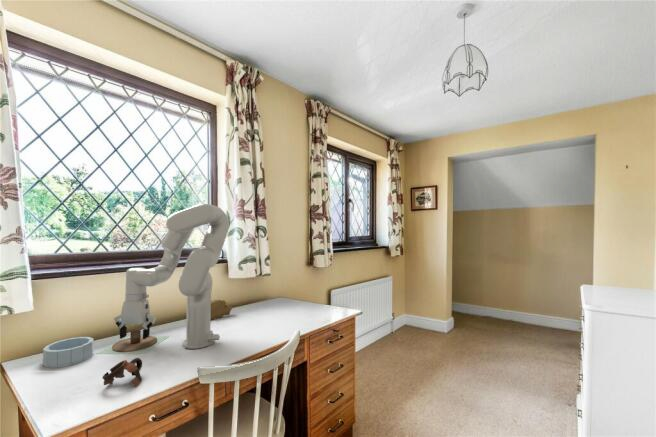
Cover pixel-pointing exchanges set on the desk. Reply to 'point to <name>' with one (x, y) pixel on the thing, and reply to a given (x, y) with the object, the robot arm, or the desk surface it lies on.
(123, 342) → the walnut lid
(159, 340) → the sage mat
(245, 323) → the desk surface
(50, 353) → the slate bowl
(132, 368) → the brown animal figurine
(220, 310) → the wooden carving
